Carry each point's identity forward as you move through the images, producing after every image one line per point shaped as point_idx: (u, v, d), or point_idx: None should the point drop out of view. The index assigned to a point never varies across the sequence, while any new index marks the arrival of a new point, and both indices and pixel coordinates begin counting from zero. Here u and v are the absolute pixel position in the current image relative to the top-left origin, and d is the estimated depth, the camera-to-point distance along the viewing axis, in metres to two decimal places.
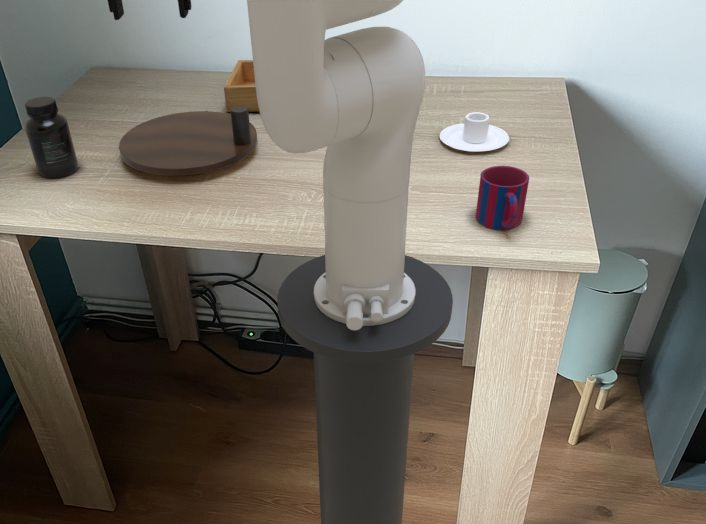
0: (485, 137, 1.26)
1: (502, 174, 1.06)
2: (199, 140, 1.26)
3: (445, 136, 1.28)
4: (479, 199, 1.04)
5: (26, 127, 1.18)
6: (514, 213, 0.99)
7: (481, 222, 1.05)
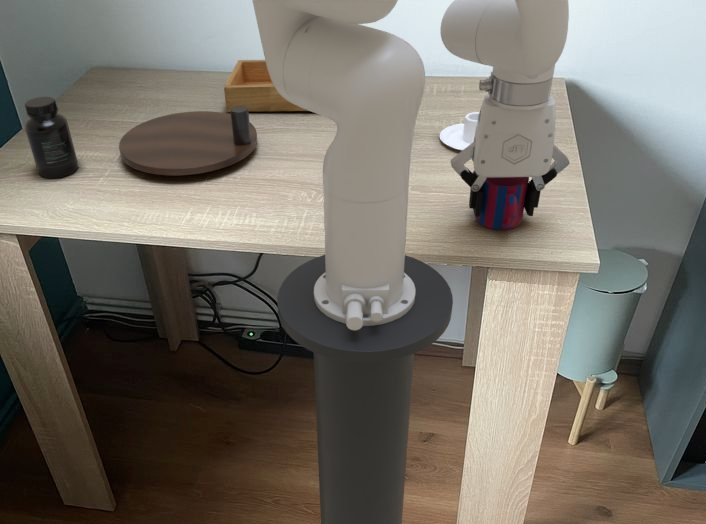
0: None
1: None
2: (199, 140, 1.26)
3: (445, 136, 1.28)
4: None
5: (26, 127, 1.18)
6: (513, 213, 0.99)
7: (481, 222, 1.06)
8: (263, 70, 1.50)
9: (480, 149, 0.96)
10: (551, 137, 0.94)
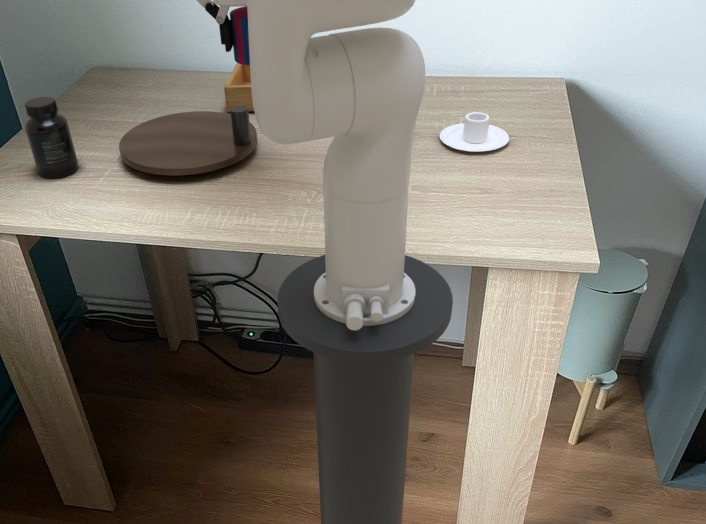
0: (485, 137, 1.26)
1: None
2: (199, 140, 1.26)
3: (445, 136, 1.28)
4: (232, 36, 1.10)
5: (26, 127, 1.18)
6: None
7: (236, 60, 1.11)
8: None
9: None
10: None
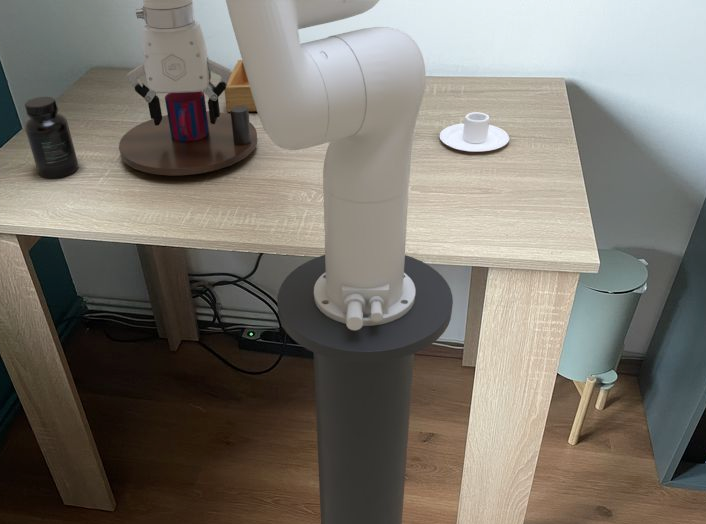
0: (485, 137, 1.26)
1: (190, 96, 1.27)
2: (199, 140, 1.26)
3: (445, 136, 1.28)
4: (168, 116, 1.26)
5: (26, 127, 1.18)
6: (182, 123, 1.20)
7: (172, 136, 1.27)
8: None
9: (146, 68, 1.17)
10: (199, 57, 1.15)
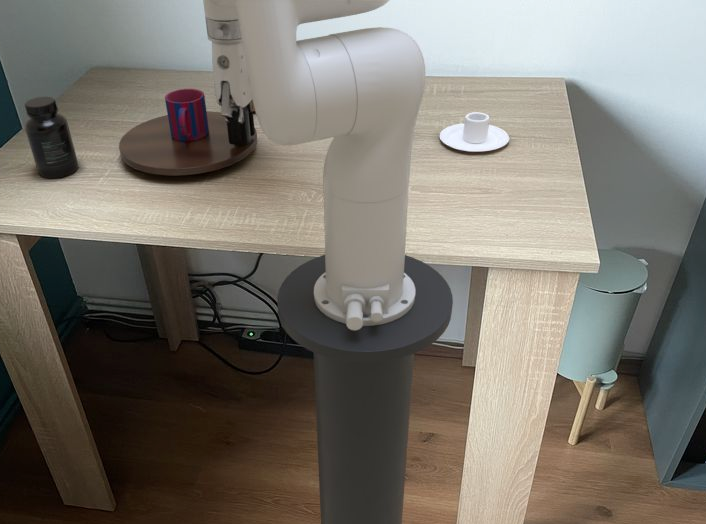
0: (485, 137, 1.26)
1: (190, 96, 1.27)
2: (199, 140, 1.26)
3: (445, 136, 1.28)
4: (168, 116, 1.26)
5: (26, 127, 1.18)
6: (182, 123, 1.20)
7: (172, 136, 1.27)
8: None
9: (241, 83, 1.13)
10: None
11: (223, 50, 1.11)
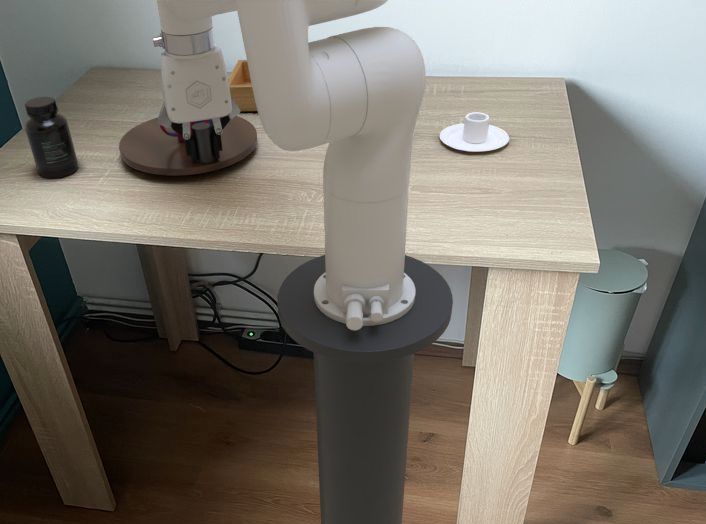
0: (485, 137, 1.26)
1: None
2: None
3: (445, 136, 1.28)
4: None
5: (26, 127, 1.18)
6: None
7: None
8: None
9: (168, 98, 1.10)
10: (225, 80, 1.10)
11: None
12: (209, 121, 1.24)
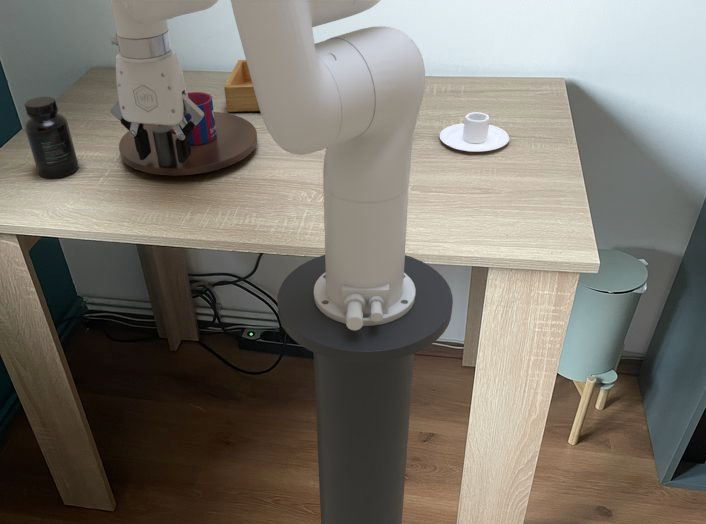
0: (485, 137, 1.26)
1: None
2: None
3: (445, 136, 1.28)
4: None
5: (26, 127, 1.18)
6: None
7: None
8: None
9: (119, 96, 1.11)
10: (171, 90, 1.08)
11: None
12: (200, 127, 1.22)
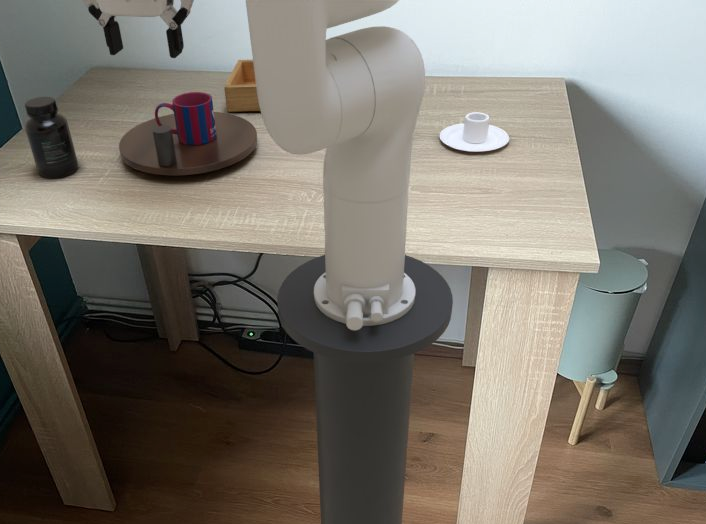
0: (485, 137, 1.26)
1: None
2: (179, 143, 1.25)
3: (445, 136, 1.28)
4: None
5: (26, 127, 1.18)
6: None
7: None
8: None
9: None
10: None
11: None
12: (200, 127, 1.22)
